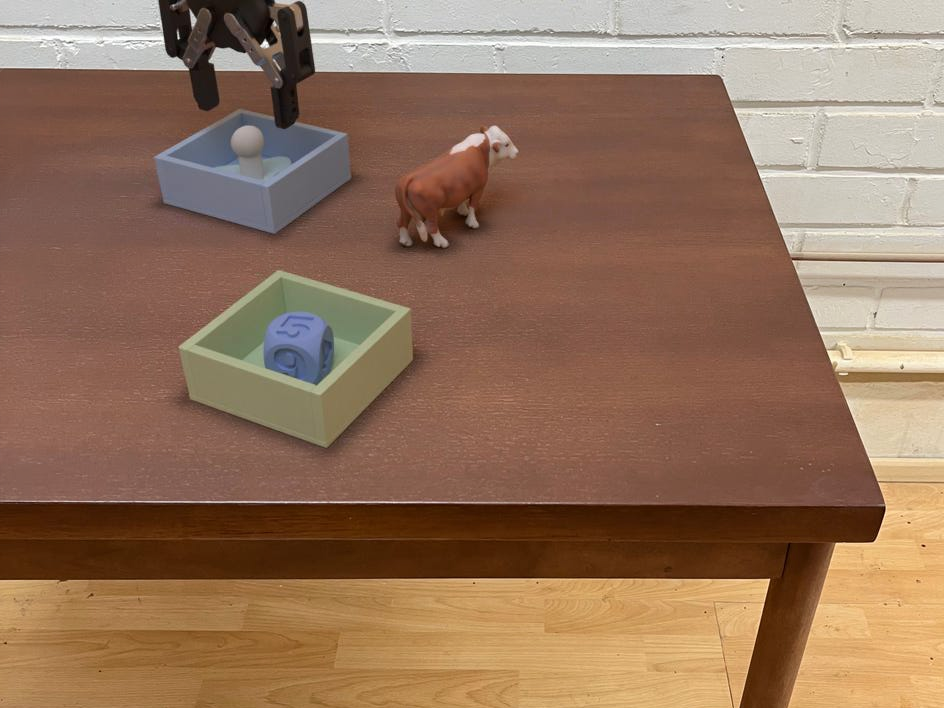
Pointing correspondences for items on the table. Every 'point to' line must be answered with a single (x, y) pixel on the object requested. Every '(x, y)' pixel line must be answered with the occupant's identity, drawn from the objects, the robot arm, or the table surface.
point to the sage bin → (286, 398)
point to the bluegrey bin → (247, 199)
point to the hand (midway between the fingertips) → (247, 116)
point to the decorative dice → (299, 346)
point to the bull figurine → (450, 183)
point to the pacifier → (253, 156)
